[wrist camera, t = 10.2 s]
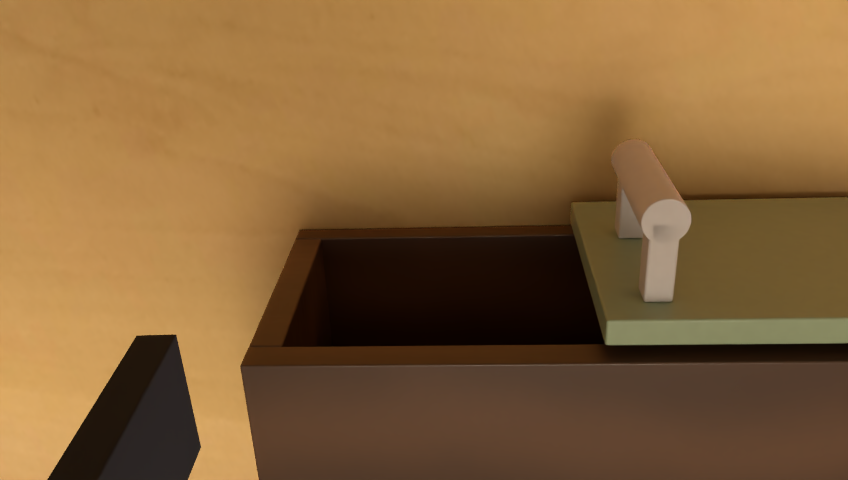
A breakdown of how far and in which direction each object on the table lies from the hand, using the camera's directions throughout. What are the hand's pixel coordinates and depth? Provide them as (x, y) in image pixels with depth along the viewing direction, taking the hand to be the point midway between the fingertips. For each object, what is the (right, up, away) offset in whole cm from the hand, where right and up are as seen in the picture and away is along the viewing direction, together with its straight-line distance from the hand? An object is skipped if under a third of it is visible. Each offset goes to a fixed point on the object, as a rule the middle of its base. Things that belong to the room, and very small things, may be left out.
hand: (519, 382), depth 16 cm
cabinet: (+7, -2, +24) cm, 25 cm away
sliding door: (+12, +6, +19) cm, 23 cm away
